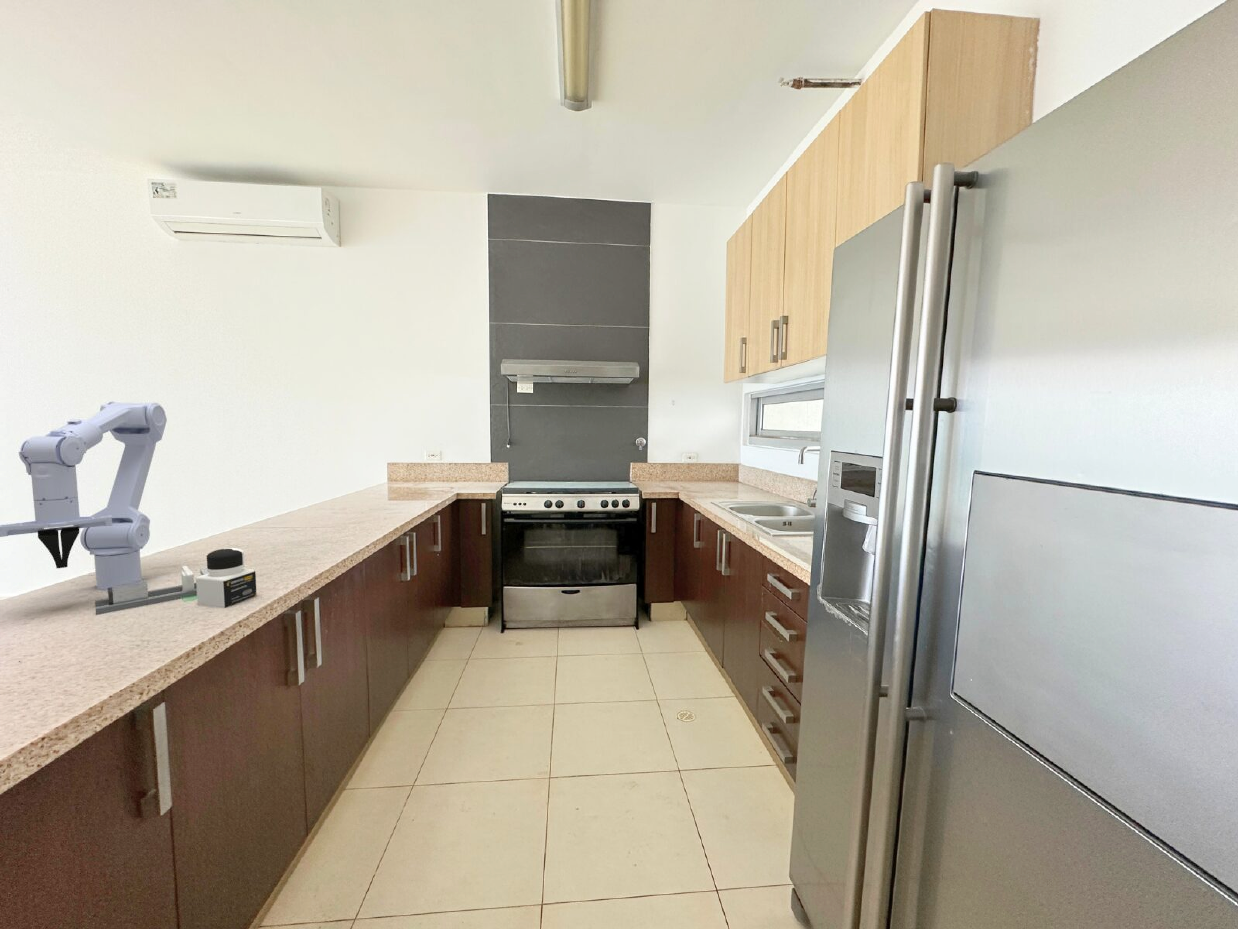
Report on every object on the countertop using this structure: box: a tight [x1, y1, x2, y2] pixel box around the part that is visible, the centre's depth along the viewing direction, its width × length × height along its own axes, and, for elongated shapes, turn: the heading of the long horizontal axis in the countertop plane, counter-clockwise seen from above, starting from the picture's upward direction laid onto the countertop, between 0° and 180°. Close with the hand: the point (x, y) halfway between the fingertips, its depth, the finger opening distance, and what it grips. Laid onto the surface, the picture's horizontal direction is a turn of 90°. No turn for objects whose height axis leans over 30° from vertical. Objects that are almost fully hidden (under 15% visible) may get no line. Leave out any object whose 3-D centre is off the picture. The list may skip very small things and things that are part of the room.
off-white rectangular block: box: [180, 565, 195, 592], centre depth 107 cm, size 9×2×5 cm, turn 47°
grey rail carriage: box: [107, 579, 149, 605], centre depth 101 cm, size 4×6×4 cm
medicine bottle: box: [195, 547, 258, 609], centre depth 103 cm, size 7×7×12 cm
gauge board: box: [94, 568, 208, 616], centre depth 104 cm, size 12×18×5 cm, turn 137°
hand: (62, 566), depth 97 cm, fingers closed
